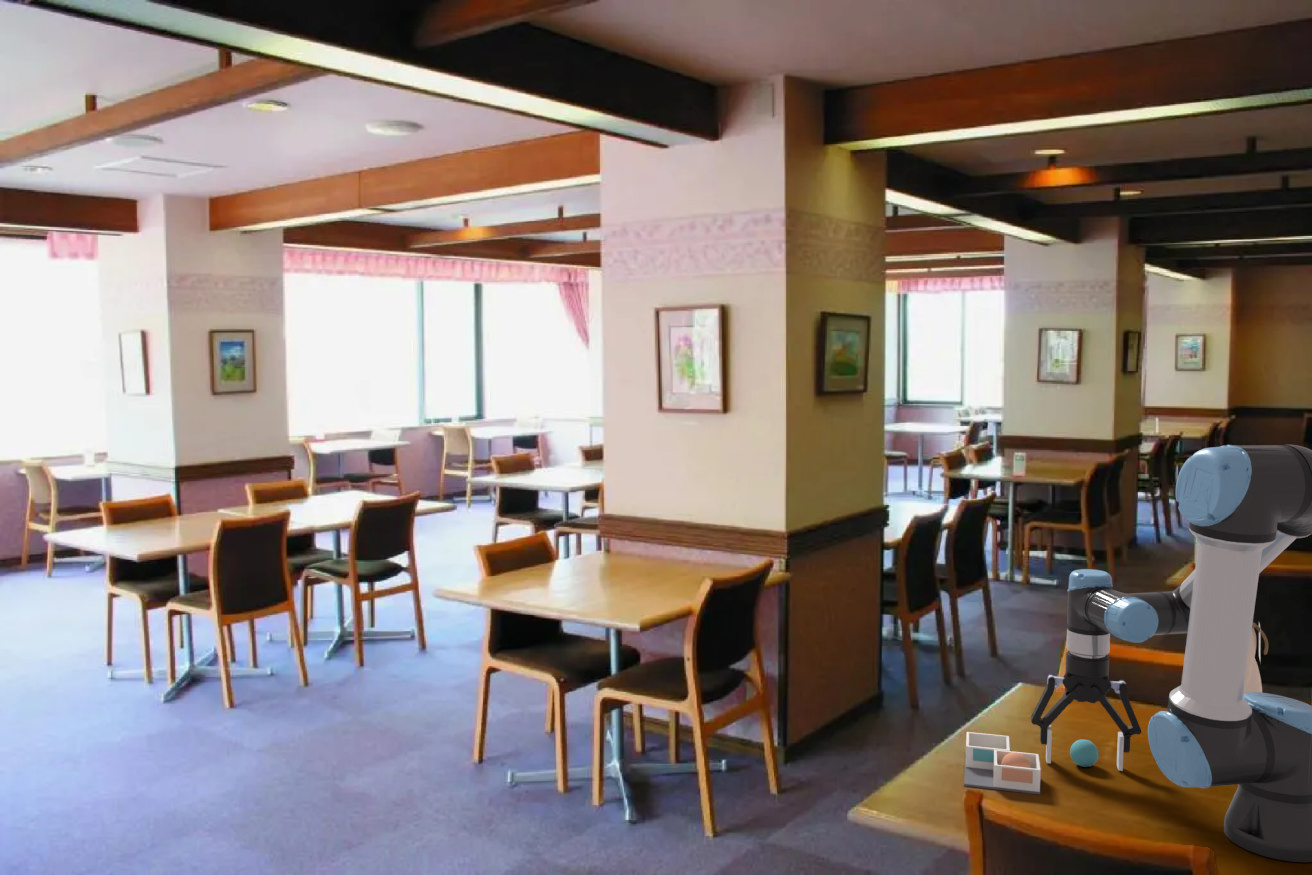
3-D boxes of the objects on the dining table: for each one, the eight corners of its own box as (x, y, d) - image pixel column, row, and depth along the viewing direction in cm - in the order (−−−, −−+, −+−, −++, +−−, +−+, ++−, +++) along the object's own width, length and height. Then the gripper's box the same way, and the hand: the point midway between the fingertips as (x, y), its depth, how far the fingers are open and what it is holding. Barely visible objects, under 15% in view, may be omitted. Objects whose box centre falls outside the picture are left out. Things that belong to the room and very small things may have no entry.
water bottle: (1250, 740, 218) (1257, 603, 215) (1271, 757, 209) (1278, 614, 206) (1197, 738, 219) (1203, 602, 216) (1215, 755, 210) (1222, 613, 207)
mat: (1040, 794, 192) (1040, 792, 192) (964, 785, 196) (964, 783, 196) (1036, 760, 207) (1036, 758, 207) (965, 753, 211) (965, 751, 211)
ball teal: (1099, 772, 202) (1100, 746, 201) (1070, 769, 203) (1071, 743, 203) (1096, 762, 206) (1097, 736, 206) (1068, 759, 208) (1069, 734, 207)
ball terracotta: (1030, 785, 194) (1031, 756, 194) (1000, 781, 195) (1001, 753, 196) (1028, 779, 199) (1029, 751, 199) (1000, 776, 200) (1001, 748, 200)
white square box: (1041, 794, 192) (1041, 770, 191) (993, 789, 194) (994, 765, 194) (1038, 777, 200) (1039, 754, 199) (993, 772, 202) (993, 749, 201)
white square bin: (1010, 774, 201) (1010, 751, 201) (965, 769, 203) (965, 746, 203) (1009, 758, 209) (1009, 735, 208) (966, 753, 211) (966, 731, 210)
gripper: (1154, 652, 203) (1150, 763, 205) (1019, 642, 210) (1015, 750, 212) (1161, 663, 196) (1156, 779, 198) (1020, 652, 203) (1016, 764, 205)
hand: (1083, 764), depth 205 cm, fingers open, 12 cm apart
